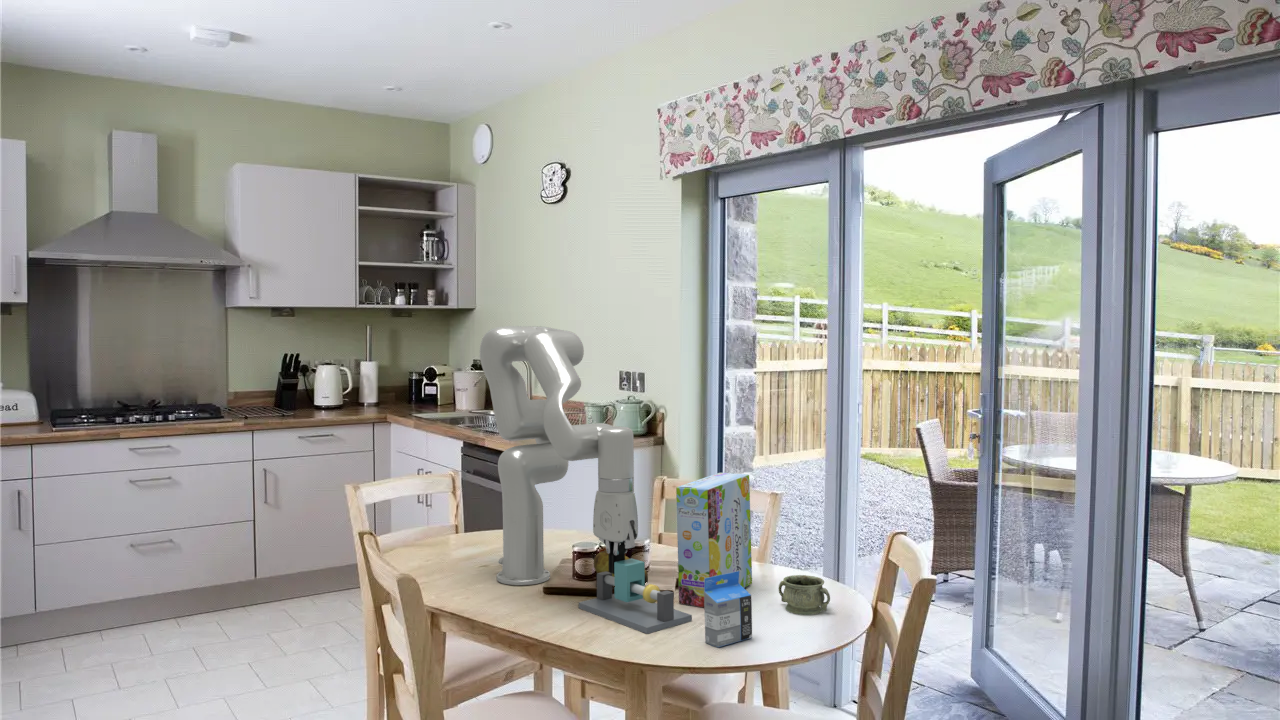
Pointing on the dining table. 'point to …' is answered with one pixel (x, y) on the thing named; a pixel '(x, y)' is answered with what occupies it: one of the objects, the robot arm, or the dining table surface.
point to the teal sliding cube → (628, 578)
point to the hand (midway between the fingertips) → (616, 572)
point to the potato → (607, 563)
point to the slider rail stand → (635, 606)
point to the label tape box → (726, 610)
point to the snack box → (713, 533)
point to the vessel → (804, 594)
